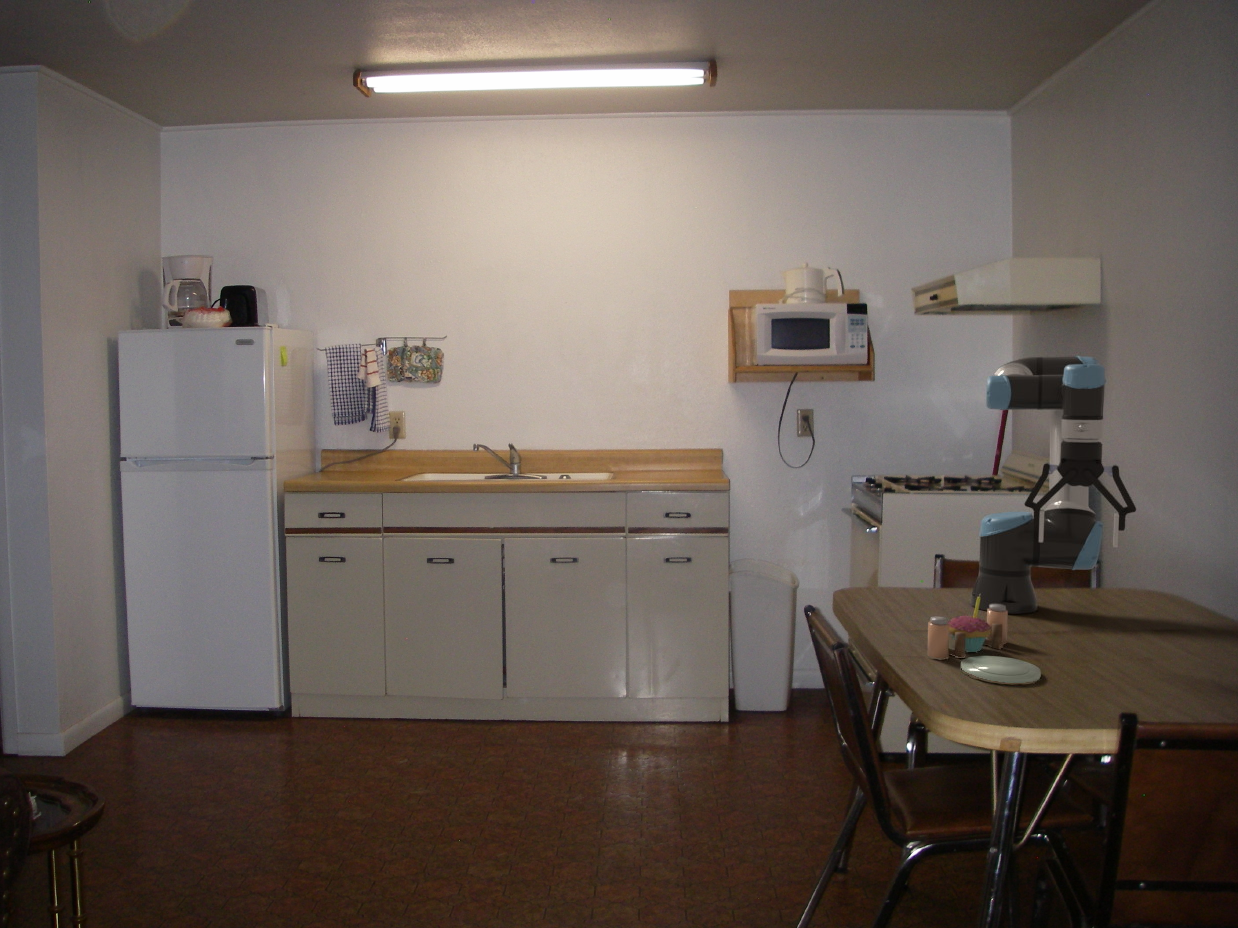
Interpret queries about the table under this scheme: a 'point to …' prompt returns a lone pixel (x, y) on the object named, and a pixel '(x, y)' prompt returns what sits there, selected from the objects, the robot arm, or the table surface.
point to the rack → (994, 643)
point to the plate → (1001, 669)
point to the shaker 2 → (998, 619)
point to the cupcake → (971, 629)
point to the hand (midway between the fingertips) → (1077, 543)
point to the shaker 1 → (938, 637)
